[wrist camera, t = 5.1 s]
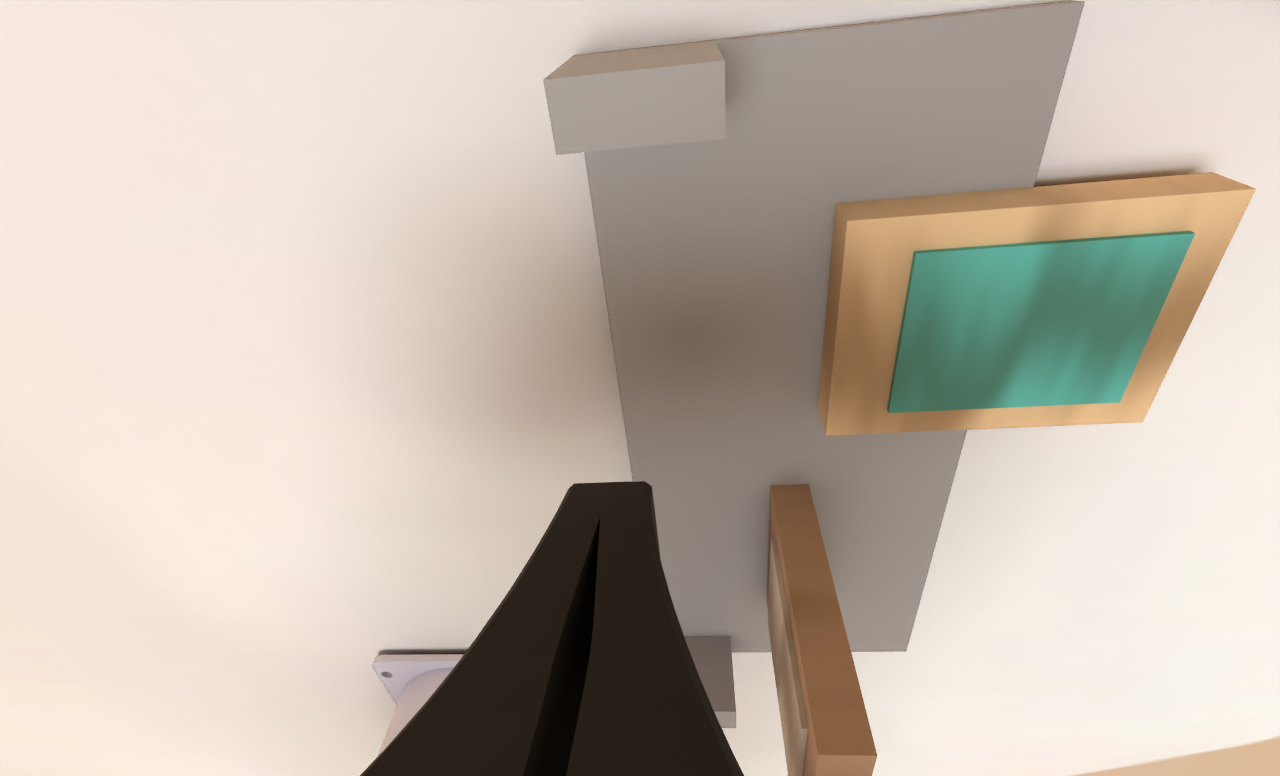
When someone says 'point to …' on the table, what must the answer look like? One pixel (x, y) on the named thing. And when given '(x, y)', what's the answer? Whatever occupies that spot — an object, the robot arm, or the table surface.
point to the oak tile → (1017, 302)
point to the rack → (785, 284)
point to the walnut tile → (812, 647)
